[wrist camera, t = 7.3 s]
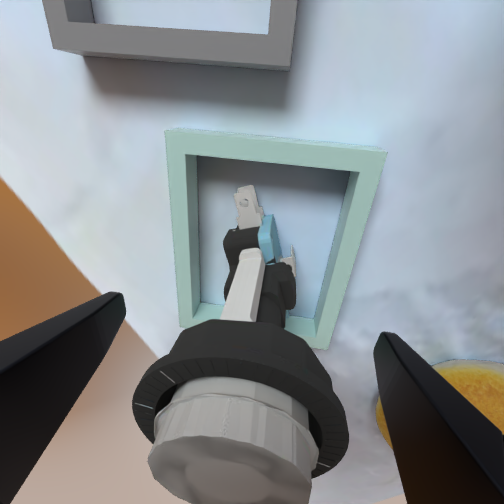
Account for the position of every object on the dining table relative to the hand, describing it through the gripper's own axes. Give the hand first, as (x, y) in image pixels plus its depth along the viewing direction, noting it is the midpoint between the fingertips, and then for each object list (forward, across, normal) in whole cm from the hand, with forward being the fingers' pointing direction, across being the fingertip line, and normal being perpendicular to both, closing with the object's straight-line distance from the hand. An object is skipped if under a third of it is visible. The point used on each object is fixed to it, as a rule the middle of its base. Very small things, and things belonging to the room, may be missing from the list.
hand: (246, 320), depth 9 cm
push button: (+6, 0, 0) cm, 6 cm away
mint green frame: (+6, 0, 0) cm, 6 cm away
